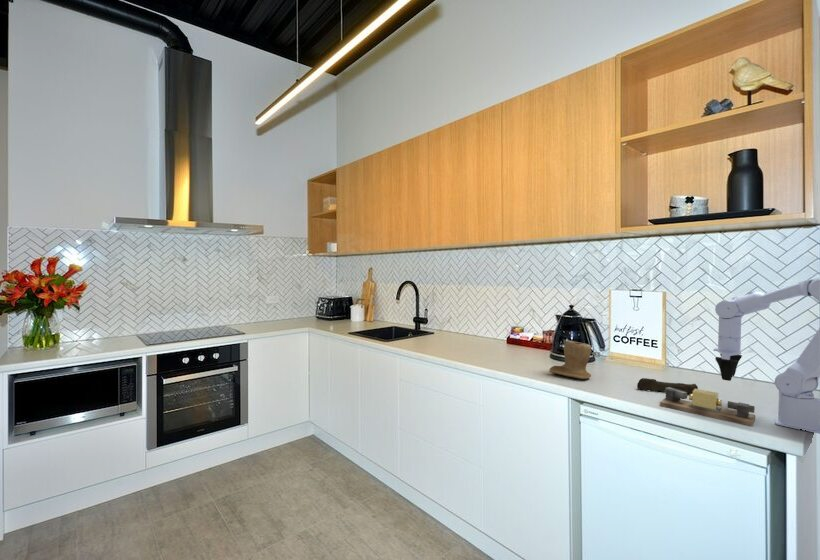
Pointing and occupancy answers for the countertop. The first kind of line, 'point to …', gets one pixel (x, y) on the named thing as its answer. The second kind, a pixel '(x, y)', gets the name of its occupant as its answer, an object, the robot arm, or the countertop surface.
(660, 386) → the hand tool
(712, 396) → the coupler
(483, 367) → the countertop surface
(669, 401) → the shaft stand
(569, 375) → the brown flared stand
